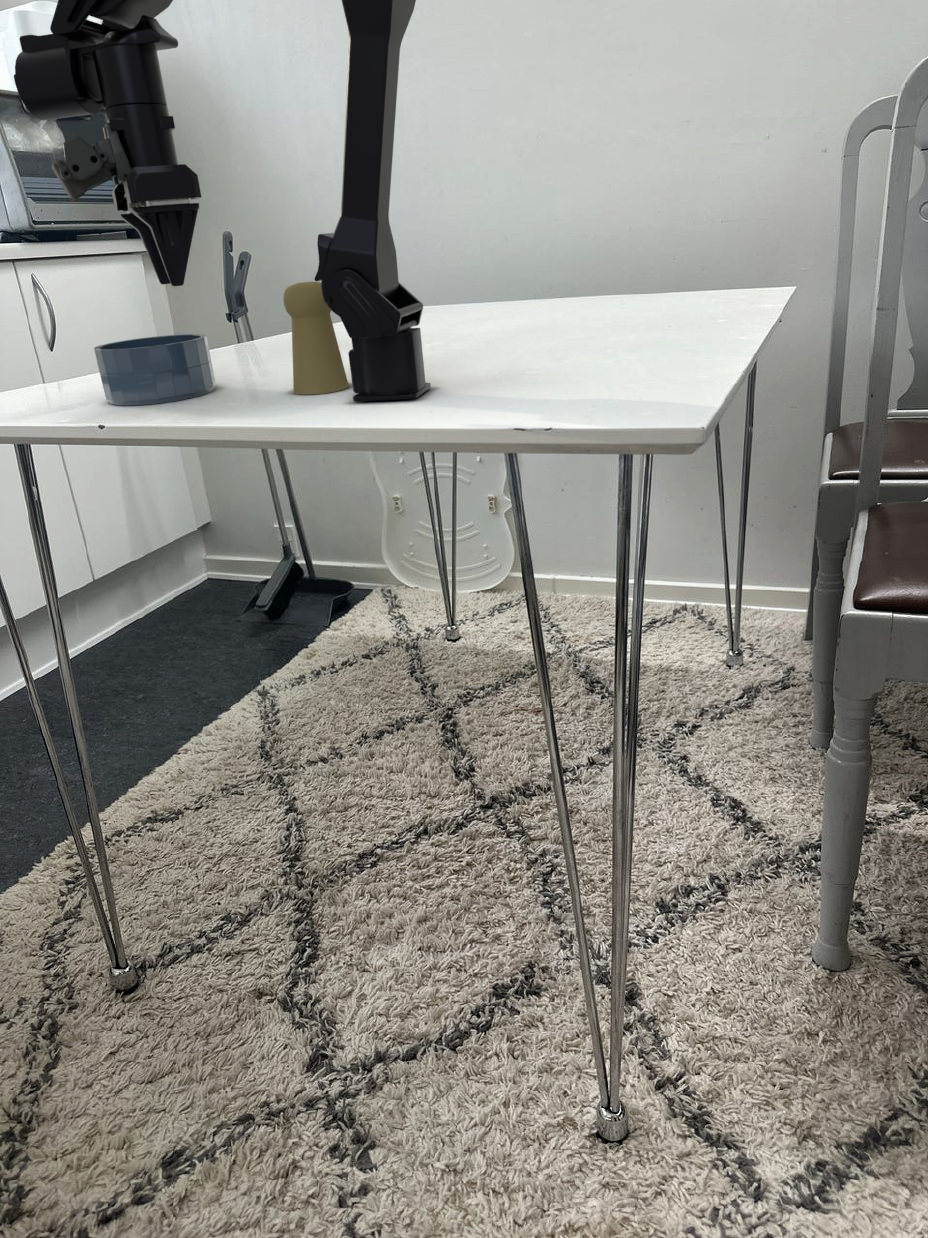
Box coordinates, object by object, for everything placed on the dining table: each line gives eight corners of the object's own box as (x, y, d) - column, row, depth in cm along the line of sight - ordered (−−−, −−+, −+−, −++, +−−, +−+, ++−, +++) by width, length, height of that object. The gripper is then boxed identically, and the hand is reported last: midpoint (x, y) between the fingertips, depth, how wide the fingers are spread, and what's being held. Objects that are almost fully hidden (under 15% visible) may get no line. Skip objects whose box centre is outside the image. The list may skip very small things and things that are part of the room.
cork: (338, 393, 94) (322, 282, 90) (284, 395, 95) (267, 286, 91) (356, 383, 99) (342, 277, 95) (305, 385, 101) (290, 282, 96)
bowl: (233, 383, 107) (224, 331, 104) (183, 403, 96) (172, 346, 94) (143, 388, 110) (132, 337, 107) (84, 408, 99) (70, 352, 96)
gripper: (43, 124, 89) (83, 290, 95) (45, 95, 73) (92, 296, 79) (158, 120, 93) (189, 280, 99) (183, 91, 77) (218, 283, 83)
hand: (171, 284), depth 90 cm, fingers open, 9 cm apart
